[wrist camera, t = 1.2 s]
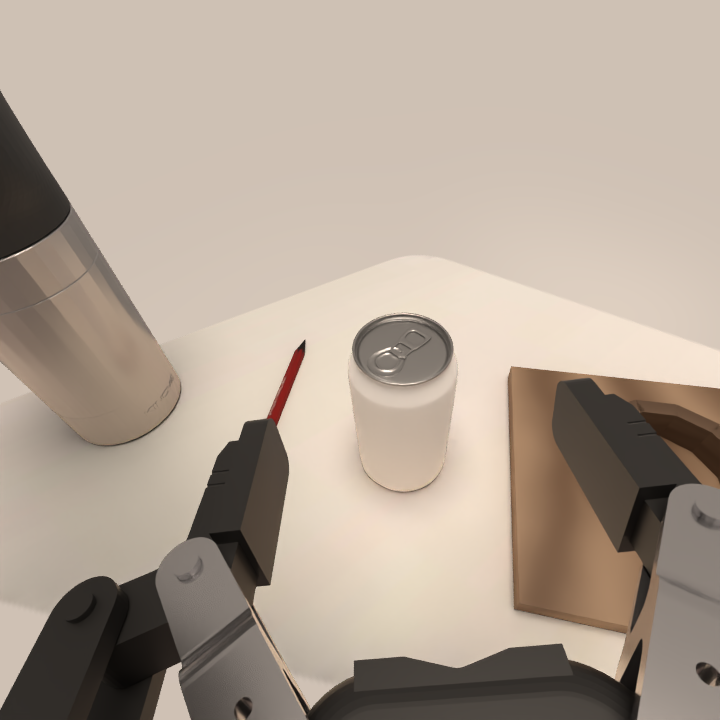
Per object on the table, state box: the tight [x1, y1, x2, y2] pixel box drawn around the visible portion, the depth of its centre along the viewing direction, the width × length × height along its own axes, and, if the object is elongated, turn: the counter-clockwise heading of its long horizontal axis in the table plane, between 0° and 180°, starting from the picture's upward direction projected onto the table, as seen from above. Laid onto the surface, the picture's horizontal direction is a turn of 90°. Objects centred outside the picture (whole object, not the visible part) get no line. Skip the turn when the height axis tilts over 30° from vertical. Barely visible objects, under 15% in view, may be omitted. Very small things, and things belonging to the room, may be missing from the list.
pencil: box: [267, 340, 305, 426], centre depth 36 cm, size 1×14×1 cm, turn 168°
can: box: [348, 313, 458, 491], centre depth 27 cm, size 6×6×12 cm
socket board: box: [508, 366, 720, 634], centre depth 27 cm, size 18×18×4 cm
